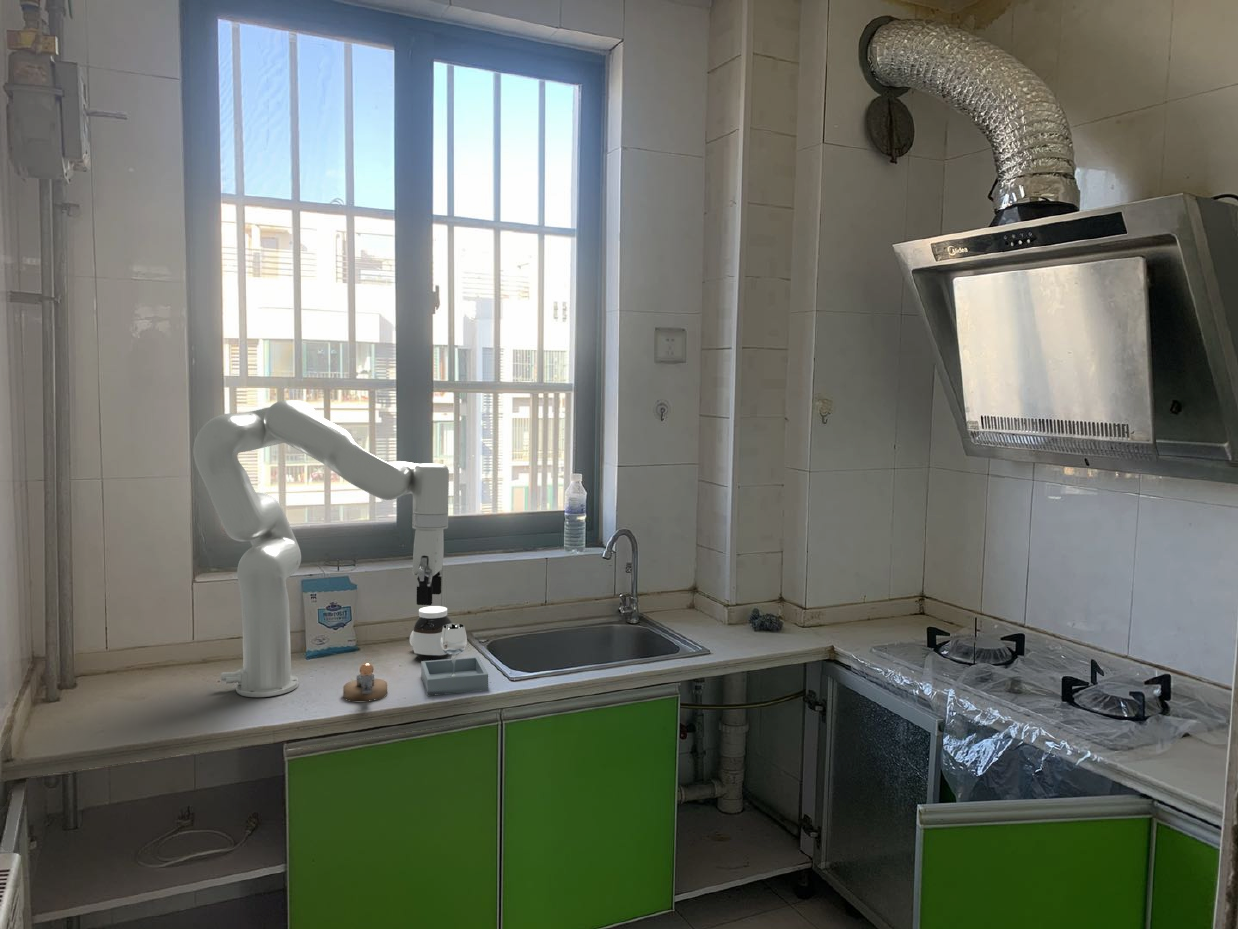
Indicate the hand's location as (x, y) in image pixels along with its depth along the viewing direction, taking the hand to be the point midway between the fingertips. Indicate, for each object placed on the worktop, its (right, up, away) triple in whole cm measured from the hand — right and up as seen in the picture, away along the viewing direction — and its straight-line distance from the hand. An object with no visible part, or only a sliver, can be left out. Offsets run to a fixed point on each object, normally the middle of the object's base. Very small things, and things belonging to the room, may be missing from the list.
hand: (429, 599), depth 189 cm
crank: (-12, -18, -6) cm, 22 cm away
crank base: (-13, -20, -3) cm, 24 cm away
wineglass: (+4, -19, +5) cm, 20 cm away
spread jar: (-6, -18, +26) cm, 32 cm away
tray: (+4, -19, +5) cm, 21 cm away
